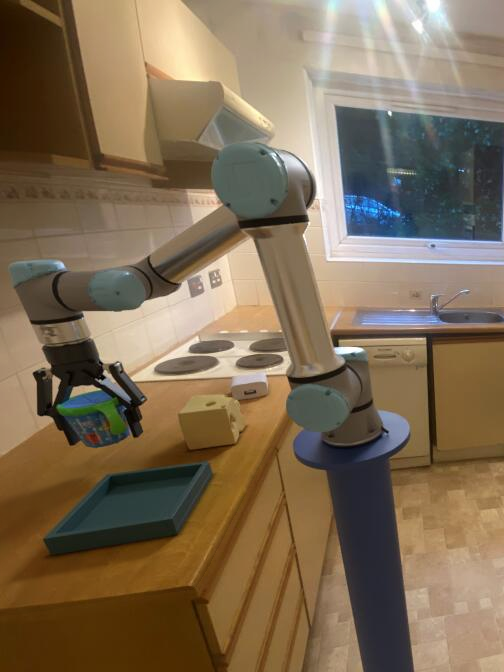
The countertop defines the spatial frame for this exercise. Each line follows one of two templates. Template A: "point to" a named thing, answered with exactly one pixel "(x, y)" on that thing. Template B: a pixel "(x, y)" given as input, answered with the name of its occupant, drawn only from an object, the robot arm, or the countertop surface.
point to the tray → (131, 508)
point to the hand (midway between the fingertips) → (107, 438)
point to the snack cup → (96, 418)
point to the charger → (249, 386)
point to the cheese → (211, 421)
